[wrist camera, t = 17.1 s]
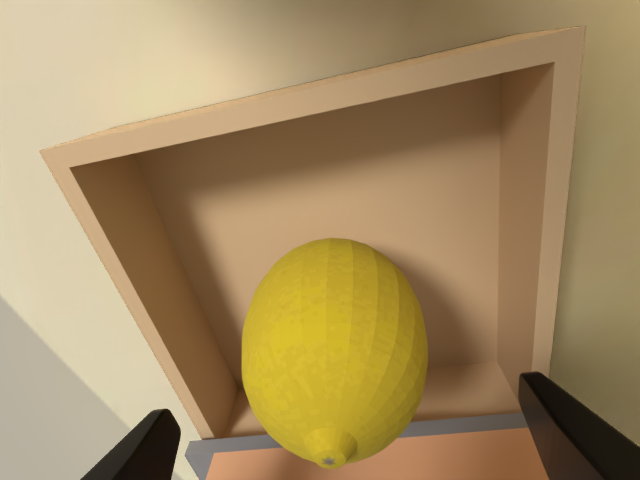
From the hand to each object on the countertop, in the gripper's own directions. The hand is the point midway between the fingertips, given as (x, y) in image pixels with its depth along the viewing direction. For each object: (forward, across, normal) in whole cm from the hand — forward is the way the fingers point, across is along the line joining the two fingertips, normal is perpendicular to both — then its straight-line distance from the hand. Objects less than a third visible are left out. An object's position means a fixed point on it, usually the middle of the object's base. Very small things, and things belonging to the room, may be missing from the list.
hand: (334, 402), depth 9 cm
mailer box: (+7, 0, 0) cm, 7 cm away
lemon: (+7, 0, 0) cm, 7 cm away
